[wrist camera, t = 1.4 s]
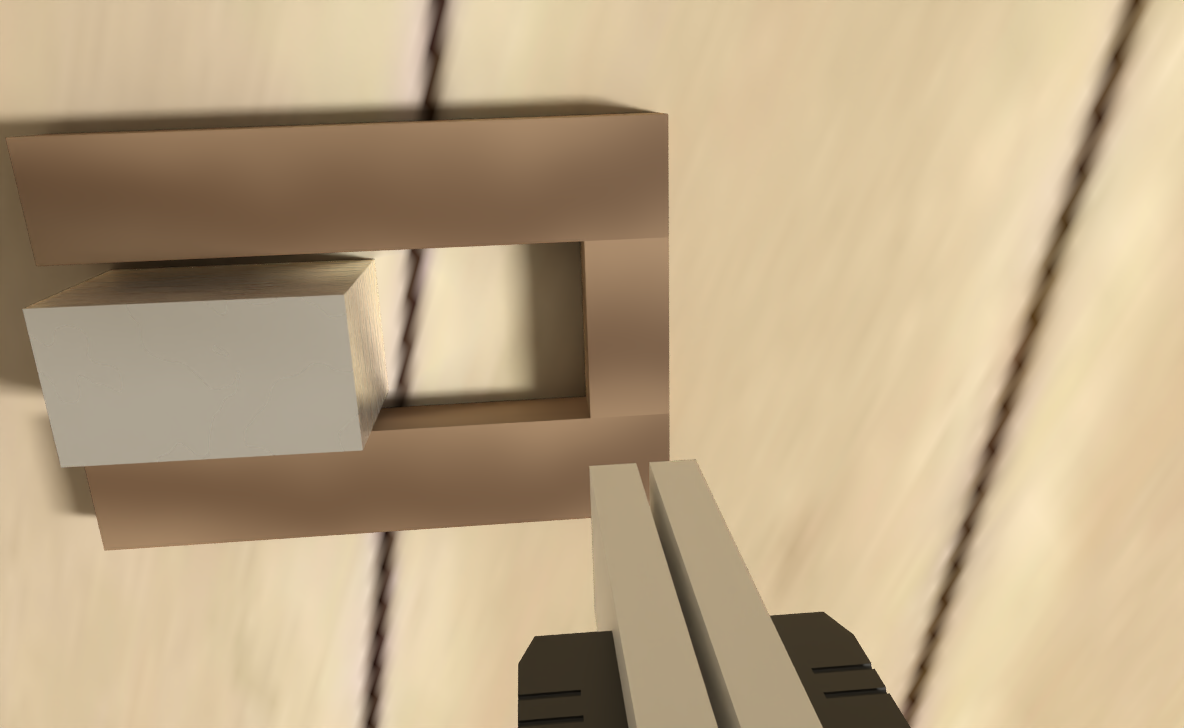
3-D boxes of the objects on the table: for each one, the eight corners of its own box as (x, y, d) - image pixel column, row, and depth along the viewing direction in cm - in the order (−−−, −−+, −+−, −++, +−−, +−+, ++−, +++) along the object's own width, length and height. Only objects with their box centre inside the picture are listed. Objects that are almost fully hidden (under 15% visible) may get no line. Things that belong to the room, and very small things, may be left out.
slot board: (45, 134, 25) (5, 137, 23) (657, 112, 26) (667, 114, 24) (132, 519, 28) (104, 550, 27) (660, 485, 30) (669, 512, 28)
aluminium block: (112, 269, 26) (22, 308, 21) (375, 258, 27) (343, 294, 22) (140, 402, 27) (61, 467, 23) (389, 389, 28) (362, 450, 23)
